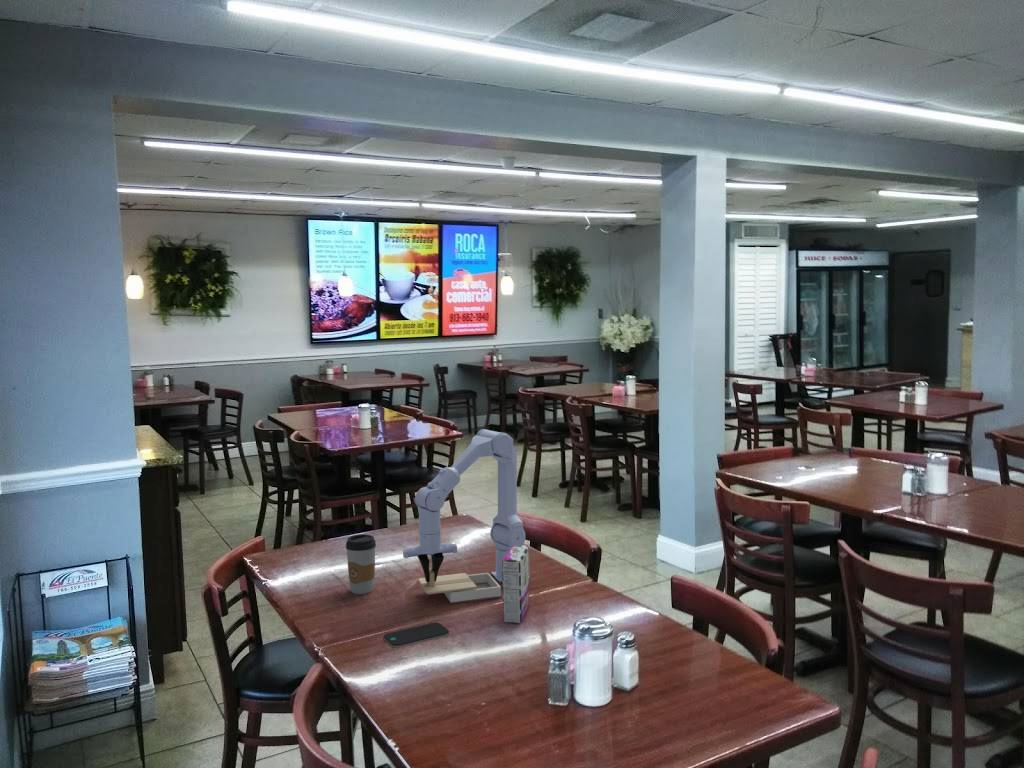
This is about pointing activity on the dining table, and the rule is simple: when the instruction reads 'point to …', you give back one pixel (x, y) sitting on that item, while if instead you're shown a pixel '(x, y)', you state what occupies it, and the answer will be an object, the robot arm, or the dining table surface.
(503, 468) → the robot arm
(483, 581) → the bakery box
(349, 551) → the coffee cup
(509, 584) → the candy bar box
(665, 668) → the dining table surface
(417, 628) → the smartphone
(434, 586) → the beige sliding box lid
